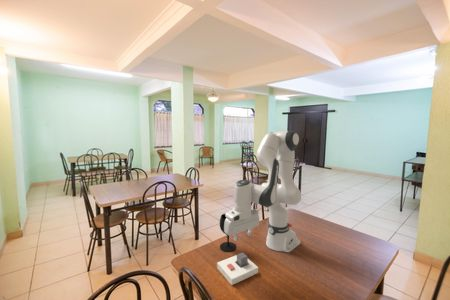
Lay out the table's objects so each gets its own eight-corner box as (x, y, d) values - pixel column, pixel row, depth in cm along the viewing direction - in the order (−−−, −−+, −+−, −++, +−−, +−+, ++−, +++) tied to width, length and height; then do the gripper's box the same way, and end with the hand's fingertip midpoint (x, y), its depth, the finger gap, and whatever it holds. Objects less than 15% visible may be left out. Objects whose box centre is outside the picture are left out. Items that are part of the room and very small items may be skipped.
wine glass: (217, 244, 131) (217, 214, 128) (232, 241, 134) (232, 211, 132) (223, 253, 121) (223, 221, 119) (239, 250, 125) (239, 218, 122)
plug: (242, 264, 111) (242, 252, 111) (247, 268, 108) (247, 256, 107) (236, 267, 109) (236, 254, 108) (241, 271, 106) (241, 258, 105)
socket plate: (241, 257, 117) (241, 251, 117) (257, 272, 105) (258, 265, 105) (217, 267, 109) (217, 261, 109) (231, 285, 97) (231, 277, 97)
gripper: (254, 206, 113) (254, 229, 115) (222, 214, 103) (222, 240, 104) (262, 210, 108) (261, 235, 110) (229, 219, 97) (229, 246, 99)
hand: (242, 237), depth 107 cm, fingers open, 7 cm apart
